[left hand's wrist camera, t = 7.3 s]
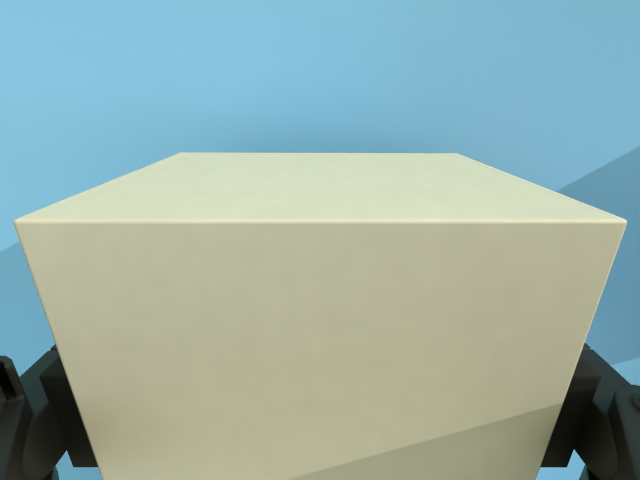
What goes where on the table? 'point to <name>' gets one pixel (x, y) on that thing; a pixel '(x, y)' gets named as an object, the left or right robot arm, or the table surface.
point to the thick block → (319, 315)
